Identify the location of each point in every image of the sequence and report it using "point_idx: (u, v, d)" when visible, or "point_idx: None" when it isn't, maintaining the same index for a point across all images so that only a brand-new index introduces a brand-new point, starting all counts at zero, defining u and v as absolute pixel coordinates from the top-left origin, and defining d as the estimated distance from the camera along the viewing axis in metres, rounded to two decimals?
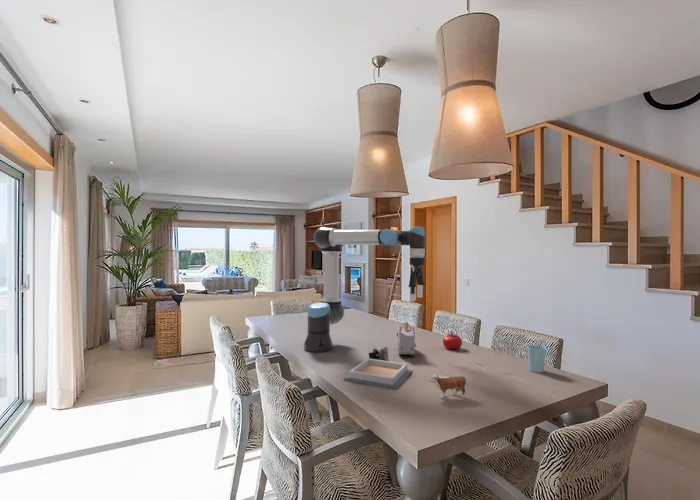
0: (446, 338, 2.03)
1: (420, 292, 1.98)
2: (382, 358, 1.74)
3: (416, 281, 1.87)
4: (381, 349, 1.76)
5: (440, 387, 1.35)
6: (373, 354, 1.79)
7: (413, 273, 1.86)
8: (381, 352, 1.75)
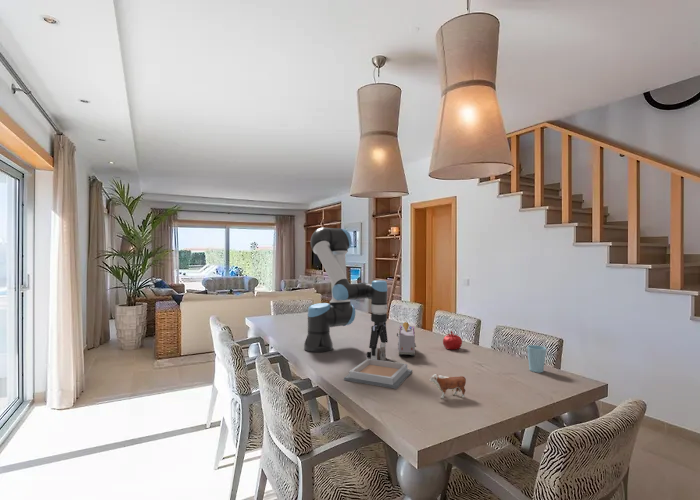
0: (446, 338, 2.03)
1: None
2: (378, 358, 1.75)
3: (377, 341, 1.76)
4: (378, 349, 1.76)
5: (440, 387, 1.35)
6: (370, 353, 1.79)
7: (373, 333, 1.74)
8: (377, 352, 1.75)
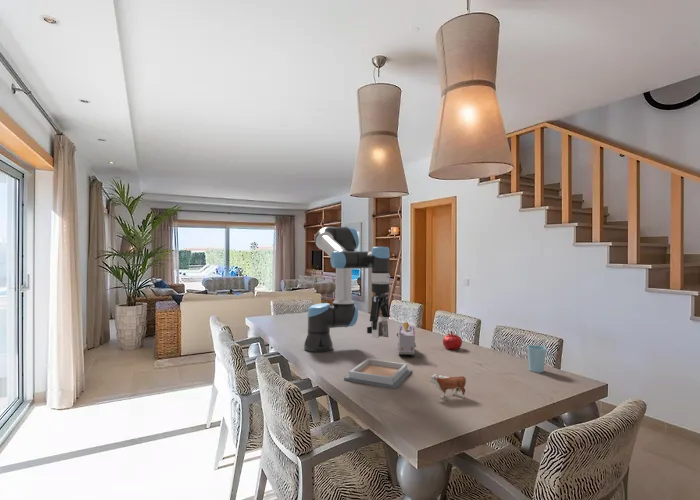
0: (446, 338, 2.03)
1: None
2: (380, 332, 1.55)
3: None
4: (379, 322, 1.57)
5: (440, 387, 1.35)
6: (371, 328, 1.60)
7: (374, 304, 1.54)
8: (379, 325, 1.56)
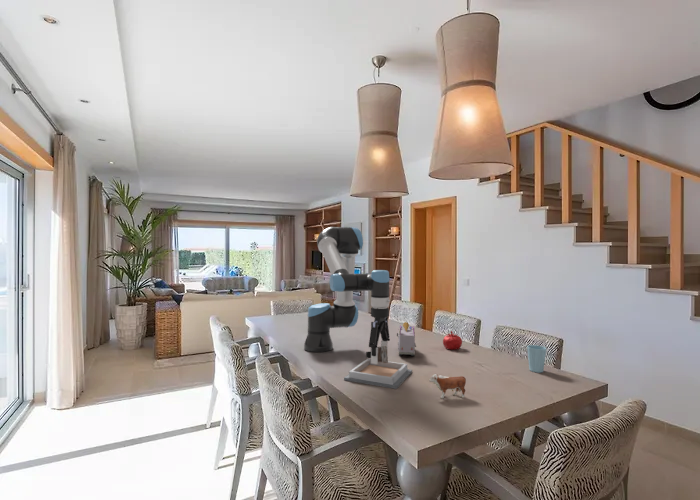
0: (446, 338, 2.03)
1: None
2: (379, 358, 1.52)
3: (378, 339, 1.53)
4: (378, 348, 1.54)
5: (440, 387, 1.35)
6: (370, 353, 1.57)
7: (374, 330, 1.51)
8: (378, 351, 1.53)
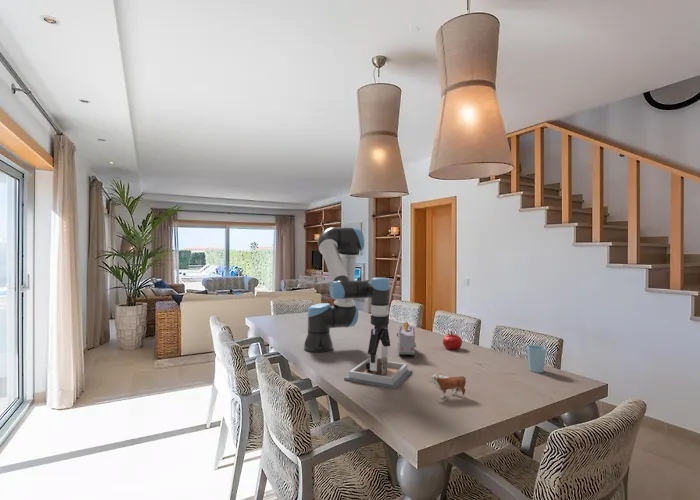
0: (446, 338, 2.03)
1: (385, 355, 1.64)
2: (379, 370, 1.52)
3: (377, 346, 1.53)
4: (378, 360, 1.54)
5: (440, 387, 1.35)
6: None
7: (373, 337, 1.51)
8: (378, 363, 1.53)
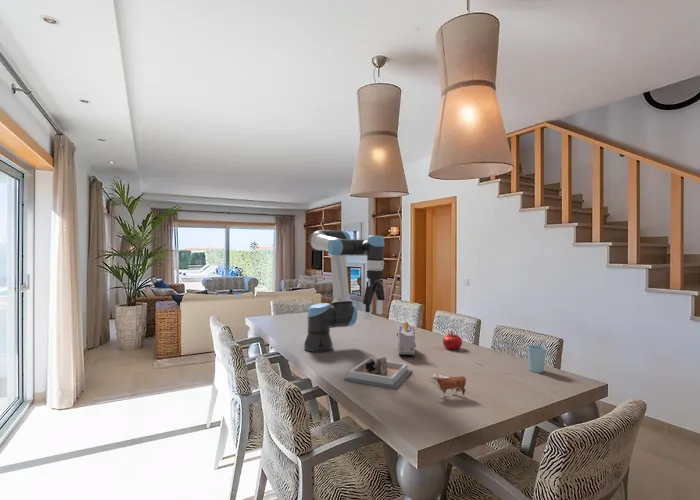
0: (446, 338, 2.03)
1: (379, 308, 1.77)
2: (378, 370, 1.52)
3: (372, 297, 1.66)
4: (378, 360, 1.54)
5: (440, 387, 1.35)
6: (369, 365, 1.57)
7: (368, 289, 1.64)
8: (377, 363, 1.53)
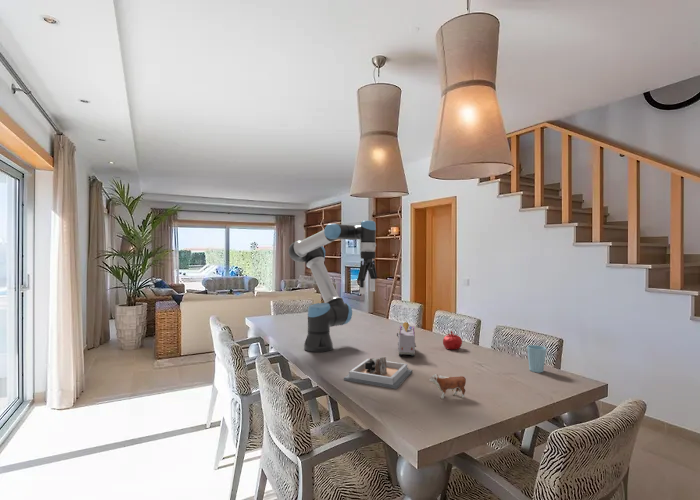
0: (446, 338, 2.03)
1: (372, 286, 1.99)
2: (378, 370, 1.52)
3: None
4: (377, 360, 1.54)
5: (440, 387, 1.35)
6: (369, 365, 1.57)
7: (362, 267, 1.87)
8: (377, 363, 1.53)
